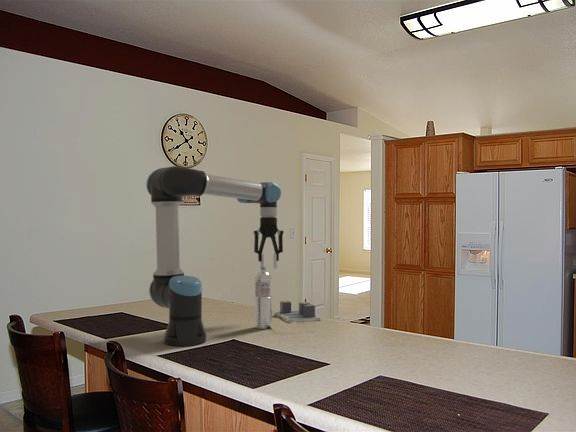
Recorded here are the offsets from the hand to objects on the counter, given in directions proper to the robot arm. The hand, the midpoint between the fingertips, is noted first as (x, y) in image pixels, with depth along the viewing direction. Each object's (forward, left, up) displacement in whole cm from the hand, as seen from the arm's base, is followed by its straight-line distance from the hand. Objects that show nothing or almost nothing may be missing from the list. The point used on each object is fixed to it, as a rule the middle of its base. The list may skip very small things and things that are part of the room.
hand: (268, 268), depth 223 cm
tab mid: (-6, -15, -21) cm, 27 cm away
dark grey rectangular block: (-12, -15, -21) cm, 29 cm away
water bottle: (-16, +7, -23) cm, 29 cm away
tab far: (0, -8, -21) cm, 23 cm away
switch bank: (-6, -11, -23) cm, 26 cm away
